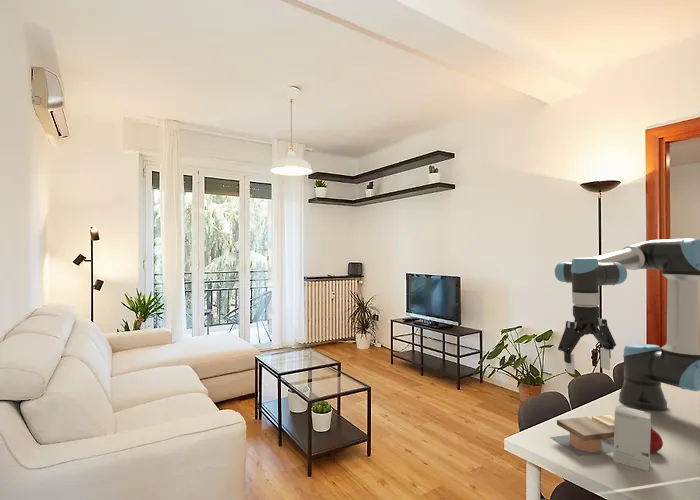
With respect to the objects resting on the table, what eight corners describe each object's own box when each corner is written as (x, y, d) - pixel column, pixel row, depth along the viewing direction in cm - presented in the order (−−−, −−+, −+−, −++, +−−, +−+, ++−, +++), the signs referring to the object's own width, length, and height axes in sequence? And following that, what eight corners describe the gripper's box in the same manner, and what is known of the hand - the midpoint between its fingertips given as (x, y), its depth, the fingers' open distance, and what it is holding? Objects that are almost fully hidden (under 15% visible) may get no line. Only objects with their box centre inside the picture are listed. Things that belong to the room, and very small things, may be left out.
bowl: (586, 437, 123) (586, 423, 123) (608, 450, 115) (608, 435, 115) (564, 440, 122) (563, 426, 122) (585, 453, 114) (584, 438, 114)
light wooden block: (609, 429, 130) (609, 414, 130) (628, 439, 124) (628, 423, 124) (592, 431, 129) (591, 416, 129) (610, 441, 122) (609, 425, 122)
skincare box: (613, 463, 109) (612, 410, 110) (615, 454, 114) (615, 404, 114) (650, 473, 104) (649, 418, 104) (651, 464, 109) (651, 411, 109)
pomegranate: (667, 459, 111) (667, 431, 112) (644, 457, 113) (644, 429, 113) (655, 449, 117) (655, 422, 117) (634, 447, 118) (634, 421, 118)
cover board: (586, 421, 125) (586, 416, 125) (616, 436, 114) (616, 431, 114) (556, 424, 123) (556, 419, 123) (584, 440, 112) (584, 435, 112)
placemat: (591, 434, 127) (591, 432, 127) (624, 452, 115) (624, 450, 115) (549, 439, 124) (549, 437, 124) (578, 458, 112) (578, 456, 112)
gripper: (607, 301, 132) (609, 363, 132) (544, 306, 126) (546, 371, 126) (627, 304, 125) (630, 370, 125) (561, 309, 119) (564, 378, 119)
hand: (588, 370), depth 125 cm, fingers open, 13 cm apart
